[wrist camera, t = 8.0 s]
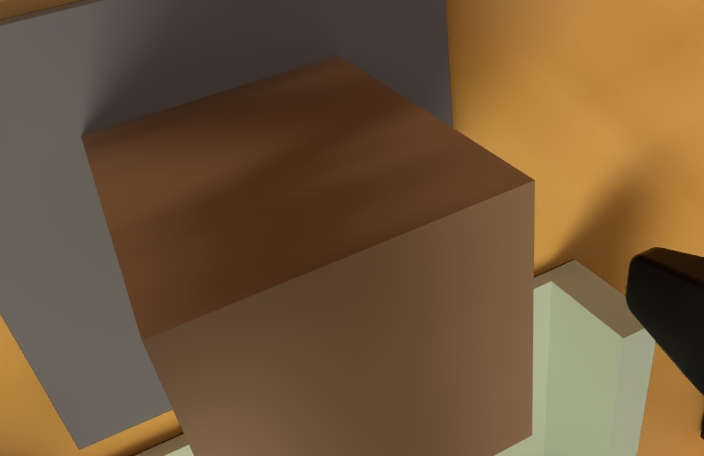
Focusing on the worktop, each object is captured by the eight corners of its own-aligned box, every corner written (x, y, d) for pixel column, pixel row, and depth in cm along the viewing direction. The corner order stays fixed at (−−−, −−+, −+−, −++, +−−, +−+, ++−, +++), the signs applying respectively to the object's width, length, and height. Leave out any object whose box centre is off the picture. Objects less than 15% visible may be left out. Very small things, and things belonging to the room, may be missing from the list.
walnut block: (338, 55, 13) (534, 179, 8) (371, 257, 16) (532, 435, 11) (80, 135, 12) (141, 340, 7) (167, 340, 14) (253, 585, 10)
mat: (429, -84, 13) (440, -82, 13) (453, 276, 18) (461, 284, 18) (-142, 54, 10) (-146, 61, 10) (77, 437, 15) (78, 450, 15)
